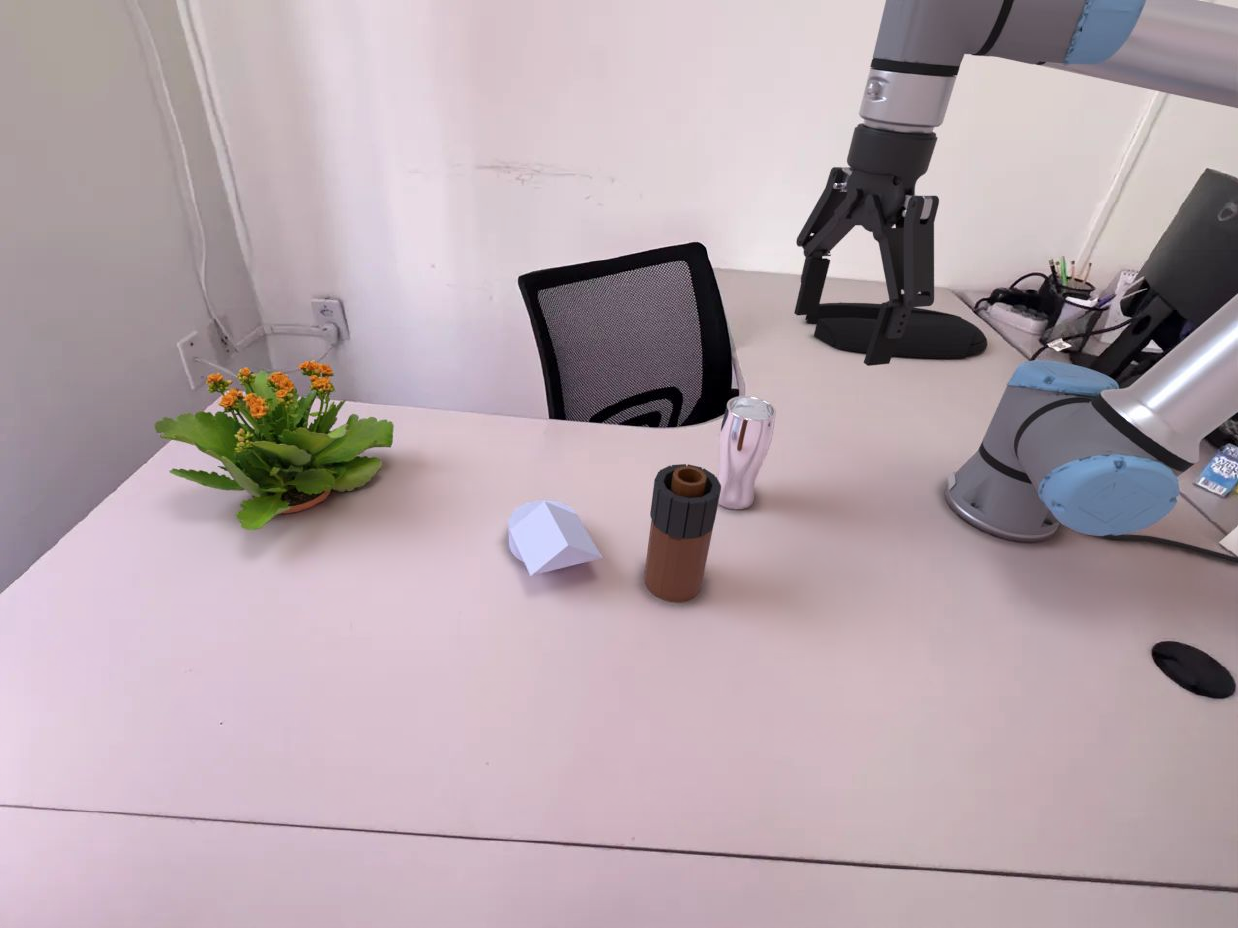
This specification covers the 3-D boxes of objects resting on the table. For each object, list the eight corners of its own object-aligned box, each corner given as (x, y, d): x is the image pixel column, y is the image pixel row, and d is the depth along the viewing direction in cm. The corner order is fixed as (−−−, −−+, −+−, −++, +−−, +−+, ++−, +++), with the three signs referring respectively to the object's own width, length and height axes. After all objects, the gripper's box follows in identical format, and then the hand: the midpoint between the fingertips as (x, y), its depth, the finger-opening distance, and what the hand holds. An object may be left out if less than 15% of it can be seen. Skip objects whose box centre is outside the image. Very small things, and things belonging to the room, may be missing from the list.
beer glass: (755, 515, 92) (777, 425, 83) (706, 507, 93) (723, 416, 84) (757, 487, 97) (778, 399, 89) (710, 479, 98) (727, 391, 90)
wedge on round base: (601, 577, 80) (565, 514, 89) (604, 536, 76) (566, 474, 85) (530, 596, 76) (500, 528, 86) (530, 554, 72) (498, 487, 82)
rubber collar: (719, 507, 76) (726, 473, 74) (706, 545, 71) (713, 509, 68) (660, 492, 78) (664, 458, 75) (643, 529, 72) (647, 493, 69)
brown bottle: (706, 569, 82) (727, 465, 73) (694, 608, 76) (715, 501, 67) (653, 555, 84) (667, 451, 74) (637, 592, 78) (650, 485, 69)
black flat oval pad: (1006, 365, 141) (1016, 344, 138) (822, 352, 140) (827, 330, 137) (959, 321, 162) (966, 301, 159) (797, 309, 160) (802, 289, 158)
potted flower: (337, 566, 78) (307, 444, 68) (141, 549, 78) (83, 425, 68) (404, 452, 99) (389, 345, 89) (249, 438, 99) (217, 330, 89)
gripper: (792, 106, 69) (755, 298, 81) (963, 150, 50) (881, 392, 62) (851, 108, 72) (806, 295, 84) (1035, 151, 53) (943, 385, 65)
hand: (838, 337), depth 73 cm, fingers open, 13 cm apart
